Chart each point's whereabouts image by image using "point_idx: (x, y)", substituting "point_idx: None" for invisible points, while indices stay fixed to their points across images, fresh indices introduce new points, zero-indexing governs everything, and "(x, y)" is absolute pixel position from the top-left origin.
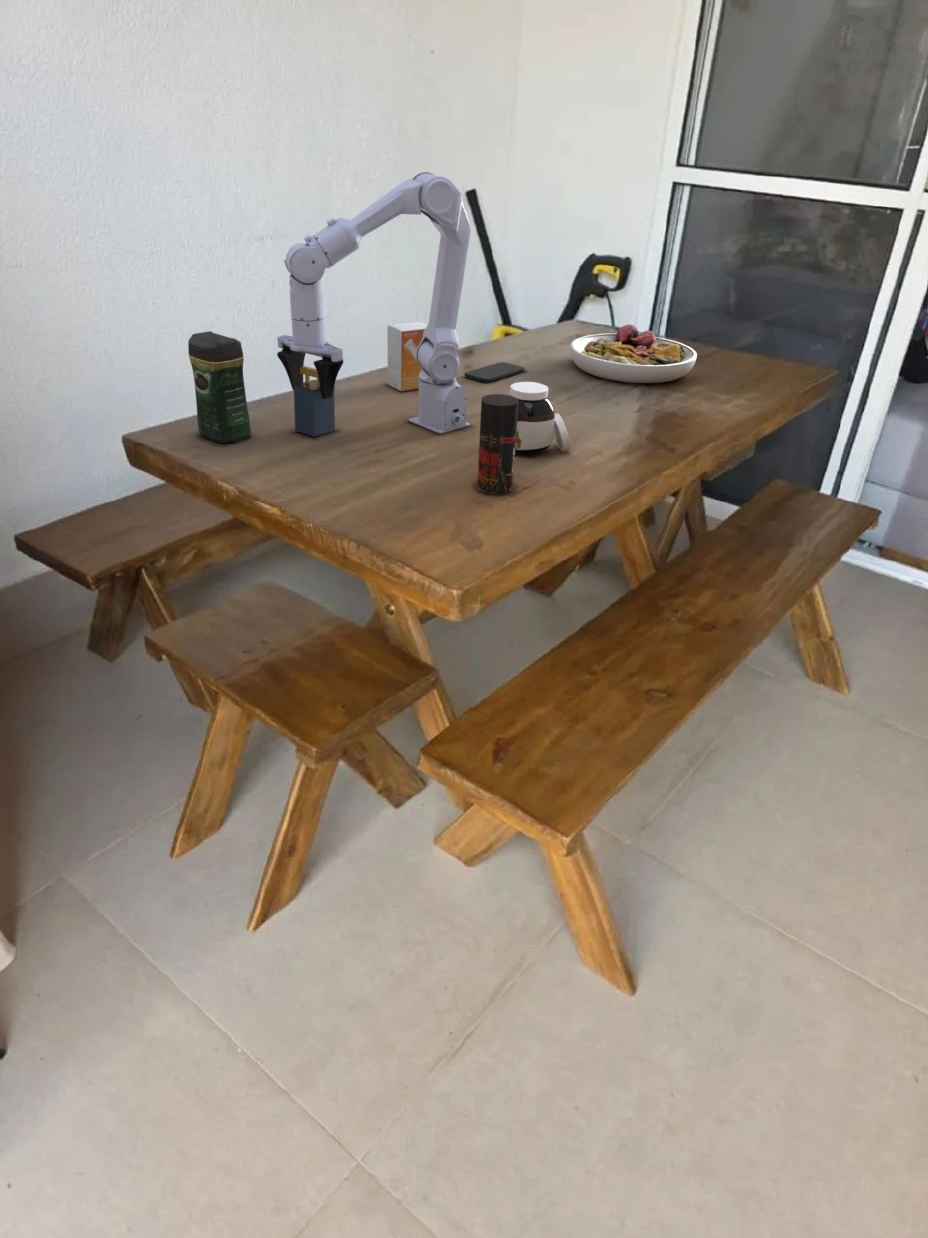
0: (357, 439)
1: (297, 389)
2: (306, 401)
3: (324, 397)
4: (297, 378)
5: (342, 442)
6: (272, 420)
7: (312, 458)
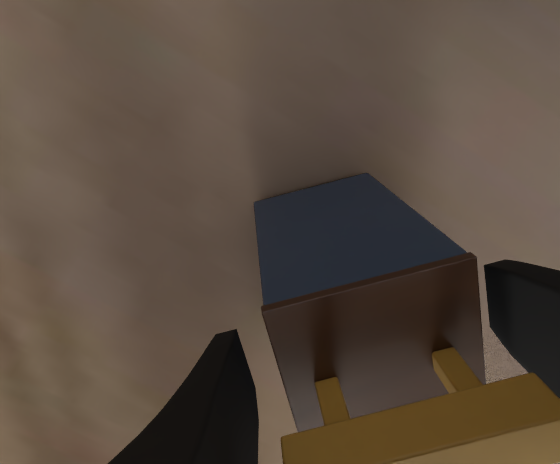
0: (157, 335)
1: (419, 254)
2: (319, 249)
3: (212, 340)
4: (537, 332)
5: (156, 273)
6: (554, 167)
7: (35, 66)
